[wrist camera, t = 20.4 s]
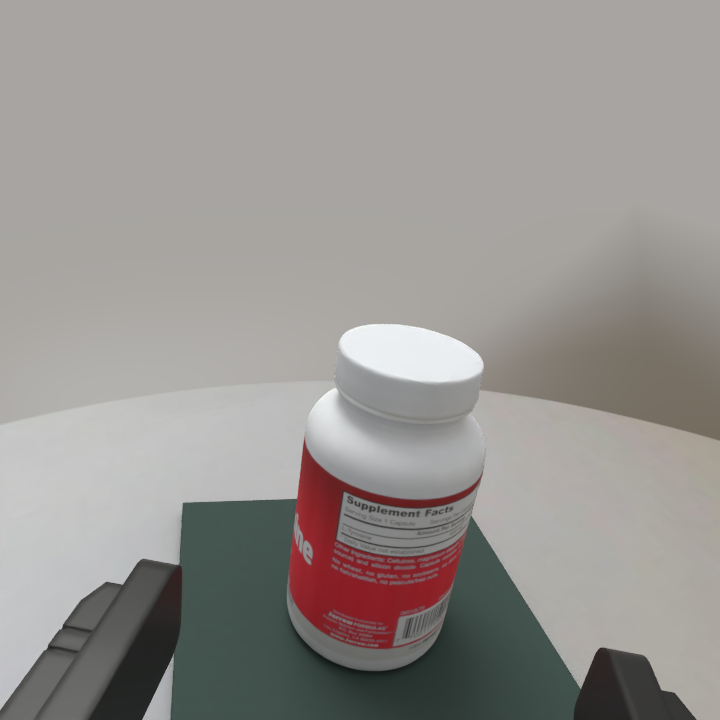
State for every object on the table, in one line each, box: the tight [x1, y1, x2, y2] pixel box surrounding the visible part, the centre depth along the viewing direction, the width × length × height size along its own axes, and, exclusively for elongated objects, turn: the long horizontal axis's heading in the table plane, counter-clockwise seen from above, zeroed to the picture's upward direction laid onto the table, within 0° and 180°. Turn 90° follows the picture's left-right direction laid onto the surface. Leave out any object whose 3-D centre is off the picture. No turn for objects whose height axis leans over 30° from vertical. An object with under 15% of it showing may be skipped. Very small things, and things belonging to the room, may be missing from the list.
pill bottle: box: [287, 324, 486, 671], centre depth 21 cm, size 6×6×11 cm
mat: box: [171, 499, 581, 720], centre depth 23 cm, size 14×14×1 cm
